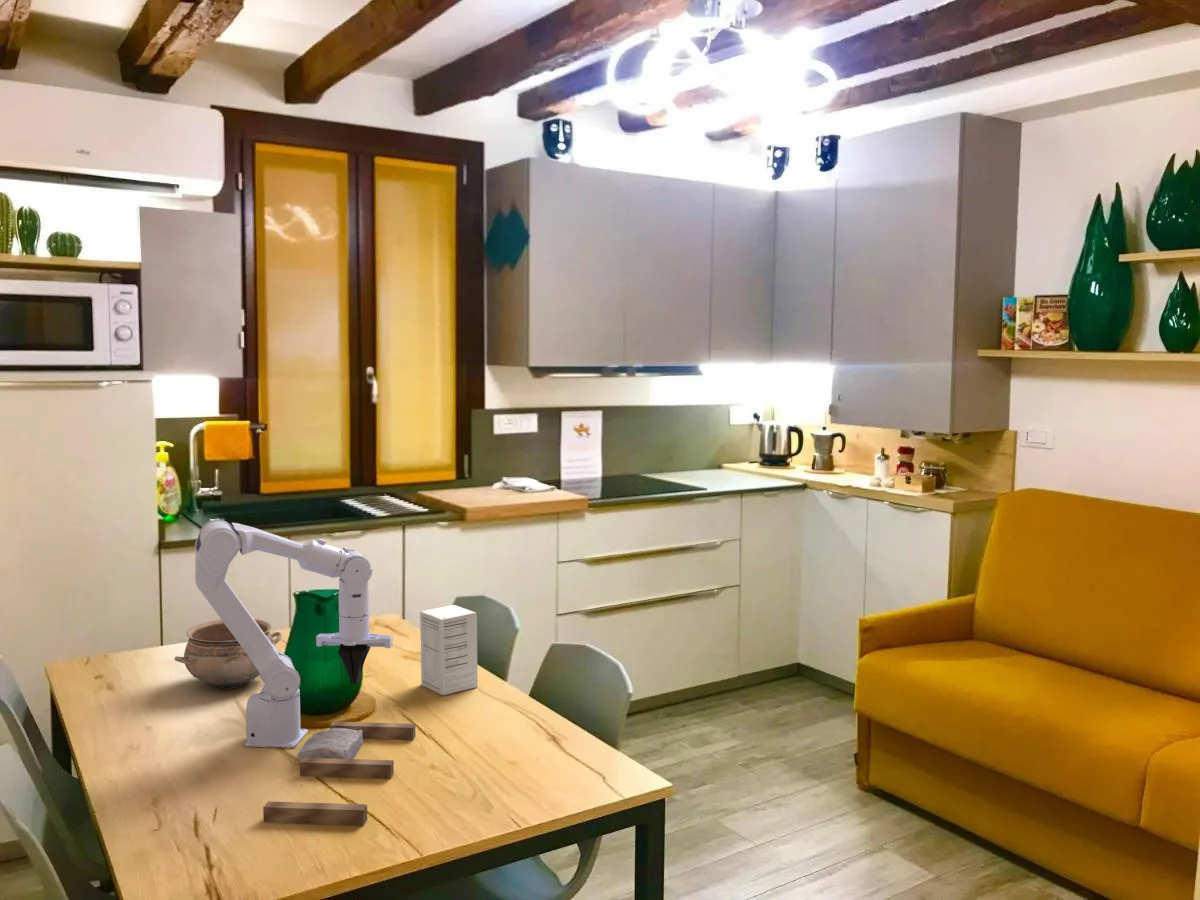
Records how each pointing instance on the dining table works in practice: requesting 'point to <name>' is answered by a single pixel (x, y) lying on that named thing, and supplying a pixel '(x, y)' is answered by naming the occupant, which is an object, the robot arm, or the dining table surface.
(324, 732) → the stone block
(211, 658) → the cooking pot
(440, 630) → the supplement box
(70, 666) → the dining table surface
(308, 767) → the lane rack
